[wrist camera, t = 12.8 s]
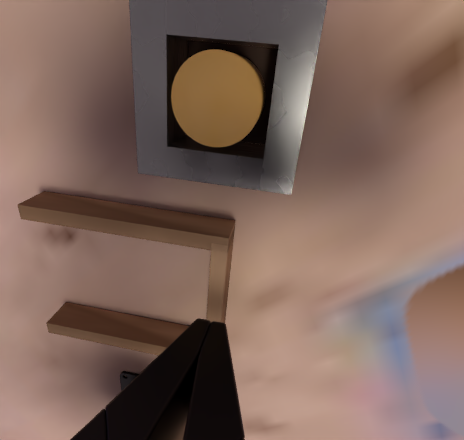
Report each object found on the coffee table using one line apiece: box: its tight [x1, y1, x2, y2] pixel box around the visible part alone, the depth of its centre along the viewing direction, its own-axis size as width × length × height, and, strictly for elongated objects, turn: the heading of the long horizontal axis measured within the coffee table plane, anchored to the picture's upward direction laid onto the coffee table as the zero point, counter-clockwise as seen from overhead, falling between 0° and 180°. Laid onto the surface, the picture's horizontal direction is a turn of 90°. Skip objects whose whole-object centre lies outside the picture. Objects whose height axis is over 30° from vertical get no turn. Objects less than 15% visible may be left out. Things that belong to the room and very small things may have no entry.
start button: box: [171, 49, 266, 147], centre depth 15 cm, size 4×4×3 cm
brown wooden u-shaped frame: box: [18, 191, 235, 355], centre depth 22 cm, size 11×14×2 cm
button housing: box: [129, 0, 327, 195], centre depth 15 cm, size 8×8×3 cm
